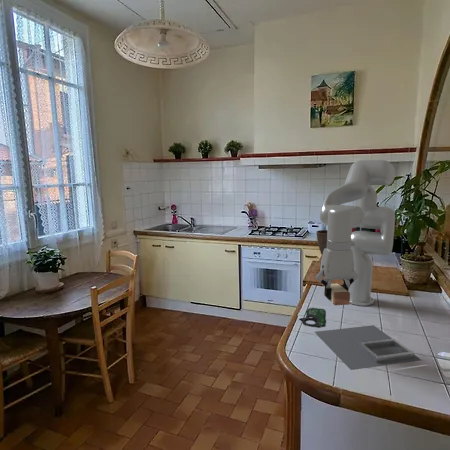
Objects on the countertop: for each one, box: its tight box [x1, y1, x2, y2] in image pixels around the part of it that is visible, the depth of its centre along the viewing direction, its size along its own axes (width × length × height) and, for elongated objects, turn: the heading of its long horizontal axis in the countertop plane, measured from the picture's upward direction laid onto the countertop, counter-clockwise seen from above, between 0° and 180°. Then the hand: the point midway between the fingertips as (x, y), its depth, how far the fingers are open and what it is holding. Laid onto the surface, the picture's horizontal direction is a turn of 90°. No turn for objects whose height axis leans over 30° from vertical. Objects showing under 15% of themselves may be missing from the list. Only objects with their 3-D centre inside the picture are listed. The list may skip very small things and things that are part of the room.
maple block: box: [323, 283, 351, 306], centre depth 108 cm, size 9×5×4 cm, turn 6°
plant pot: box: [316, 229, 327, 256], centre depth 224 cm, size 15×15×16 cm
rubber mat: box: [314, 324, 422, 371], centre depth 107 cm, size 23×24×1 cm
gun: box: [298, 307, 327, 329], centre depth 127 cm, size 16×2×10 cm
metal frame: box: [359, 338, 415, 363], centre depth 102 cm, size 9×13×2 cm
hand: (336, 297), depth 109 cm, fingers closed on maple block, 5 cm apart
